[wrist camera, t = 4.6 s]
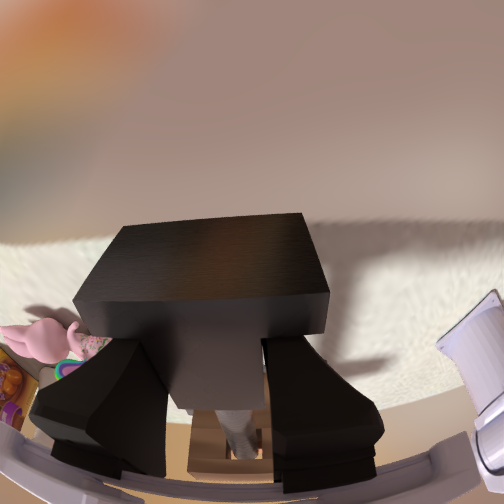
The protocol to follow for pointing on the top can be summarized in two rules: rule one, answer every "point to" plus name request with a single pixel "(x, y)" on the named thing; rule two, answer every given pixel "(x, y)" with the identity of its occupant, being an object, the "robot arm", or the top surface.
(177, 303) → the shaft
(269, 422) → the bracket
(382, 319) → the top surface
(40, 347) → the pink toy animal
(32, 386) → the candy box
